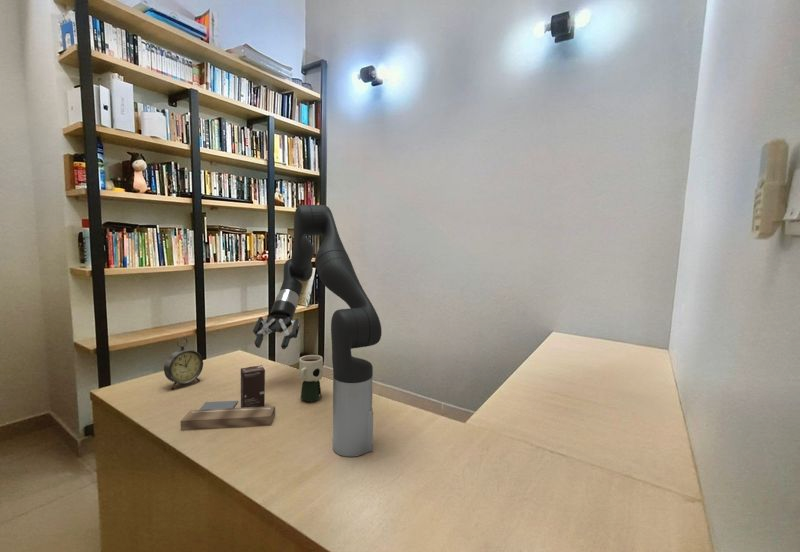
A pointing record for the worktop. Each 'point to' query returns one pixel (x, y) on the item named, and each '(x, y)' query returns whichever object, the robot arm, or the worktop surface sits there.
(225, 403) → the grey mat
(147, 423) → the worktop surface
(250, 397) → the box
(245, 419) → the walnut board
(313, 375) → the character mug
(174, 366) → the alarm clock
